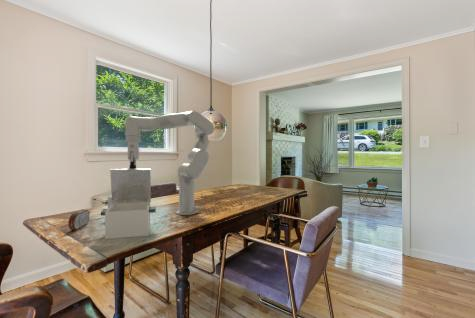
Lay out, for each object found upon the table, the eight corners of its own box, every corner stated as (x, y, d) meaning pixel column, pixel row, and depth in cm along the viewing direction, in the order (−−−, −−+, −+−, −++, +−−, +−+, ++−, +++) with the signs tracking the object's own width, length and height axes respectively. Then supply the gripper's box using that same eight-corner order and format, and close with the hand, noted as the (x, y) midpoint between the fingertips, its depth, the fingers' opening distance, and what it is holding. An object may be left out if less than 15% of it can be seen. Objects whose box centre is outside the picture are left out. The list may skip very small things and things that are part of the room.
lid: (150, 202, 131) (150, 199, 133) (150, 169, 126) (150, 167, 128) (112, 203, 125) (113, 201, 128) (110, 169, 120) (111, 167, 123)
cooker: (155, 223, 132) (155, 201, 131) (155, 234, 115) (155, 209, 114) (106, 227, 125) (106, 204, 124) (97, 239, 108) (97, 212, 107)
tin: (84, 223, 132) (84, 207, 132) (90, 222, 132) (90, 207, 132) (67, 232, 117) (67, 214, 117) (74, 232, 117) (74, 214, 117)
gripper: (139, 138, 128) (138, 173, 129) (141, 140, 143) (141, 171, 143) (123, 138, 126) (123, 173, 127) (127, 139, 140) (127, 171, 141)
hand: (132, 172), depth 135 cm, fingers closed
